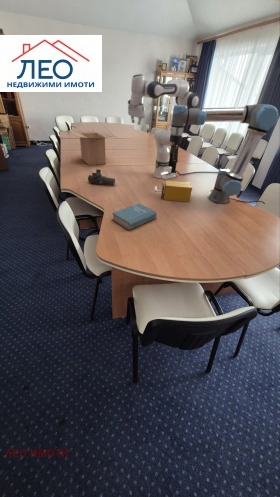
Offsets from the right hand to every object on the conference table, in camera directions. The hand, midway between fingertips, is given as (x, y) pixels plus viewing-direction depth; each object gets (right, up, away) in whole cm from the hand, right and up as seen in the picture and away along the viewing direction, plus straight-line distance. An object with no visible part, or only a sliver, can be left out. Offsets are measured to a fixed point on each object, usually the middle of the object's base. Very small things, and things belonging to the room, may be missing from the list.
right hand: (171, 169), depth 149 cm
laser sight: (-54, +1, +36) cm, 65 cm away
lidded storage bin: (+7, -14, +23) cm, 27 cm away
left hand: (-24, +43, +21) cm, 54 cm away
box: (-71, +41, +88) cm, 120 cm away
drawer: (+1, -12, +22) cm, 26 cm away
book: (-25, -35, -9) cm, 44 cm away
